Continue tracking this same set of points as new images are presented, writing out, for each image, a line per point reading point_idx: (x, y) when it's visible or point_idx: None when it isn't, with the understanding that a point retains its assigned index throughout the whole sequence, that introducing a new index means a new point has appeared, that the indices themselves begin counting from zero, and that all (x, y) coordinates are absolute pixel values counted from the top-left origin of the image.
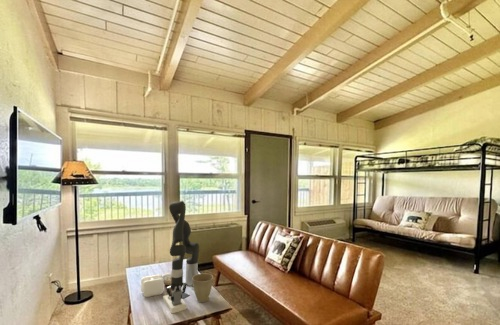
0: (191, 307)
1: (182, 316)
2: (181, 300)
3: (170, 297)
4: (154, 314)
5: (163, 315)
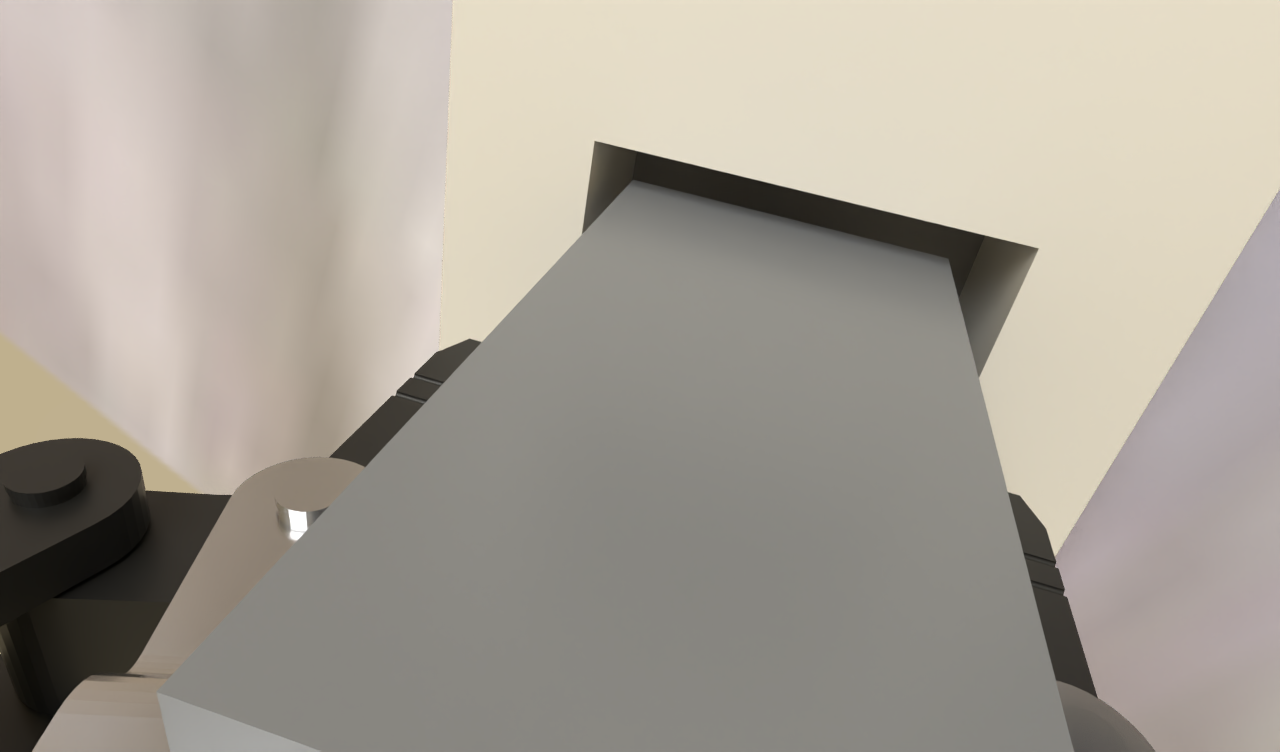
0: (1127, 639)
1: None
2: (1071, 363)
3: None
4: (85, 150)
5: (293, 378)
